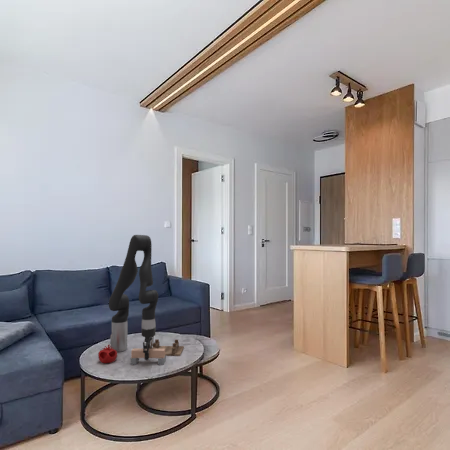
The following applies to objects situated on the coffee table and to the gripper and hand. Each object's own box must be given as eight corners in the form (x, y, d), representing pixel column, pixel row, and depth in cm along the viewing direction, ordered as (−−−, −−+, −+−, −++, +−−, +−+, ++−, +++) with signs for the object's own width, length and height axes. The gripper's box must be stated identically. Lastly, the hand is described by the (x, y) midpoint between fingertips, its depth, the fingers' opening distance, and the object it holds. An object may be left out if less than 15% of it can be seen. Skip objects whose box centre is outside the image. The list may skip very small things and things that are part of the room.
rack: (145, 355, 196) (146, 345, 197) (151, 347, 210) (151, 337, 211) (180, 355, 196) (180, 345, 196) (183, 347, 210) (183, 338, 210)
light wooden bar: (131, 357, 185) (131, 350, 185) (133, 355, 188) (133, 348, 189) (164, 358, 184) (164, 350, 185) (165, 355, 188) (165, 348, 188)
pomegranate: (99, 359, 192) (99, 342, 192) (117, 357, 194) (117, 341, 194) (97, 365, 182) (97, 348, 182) (116, 363, 184) (116, 346, 185)
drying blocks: (130, 364, 184) (130, 358, 184) (133, 360, 190) (133, 354, 190) (163, 364, 183) (163, 359, 183) (165, 360, 189) (165, 355, 189)
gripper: (145, 323, 194) (145, 352, 194) (138, 330, 180) (137, 362, 179) (158, 323, 194) (158, 352, 194) (152, 330, 179) (152, 362, 179)
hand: (148, 357), depth 186 cm, fingers open, 6 cm apart
